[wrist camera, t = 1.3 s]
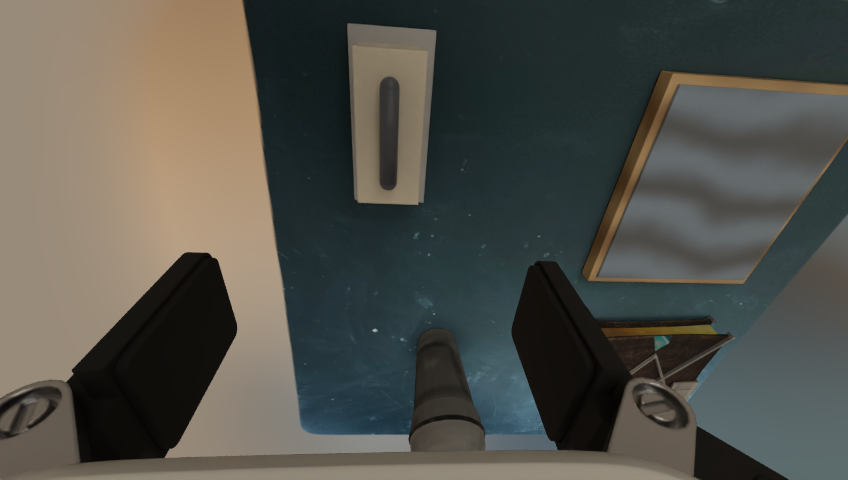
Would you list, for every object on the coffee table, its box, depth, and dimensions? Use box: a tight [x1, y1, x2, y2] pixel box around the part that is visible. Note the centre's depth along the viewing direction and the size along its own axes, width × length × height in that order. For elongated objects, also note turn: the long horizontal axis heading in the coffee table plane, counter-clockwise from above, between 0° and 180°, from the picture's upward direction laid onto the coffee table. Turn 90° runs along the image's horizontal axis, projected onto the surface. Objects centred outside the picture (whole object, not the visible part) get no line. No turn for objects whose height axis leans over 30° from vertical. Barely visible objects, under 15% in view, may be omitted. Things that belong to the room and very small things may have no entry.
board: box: [582, 71, 848, 284], centre depth 32 cm, size 20×18×2 cm
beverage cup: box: [409, 329, 485, 452], centre depth 34 cm, size 7×7×20 cm
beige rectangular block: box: [347, 23, 436, 205], centre depth 25 cm, size 13×6×7 cm, turn 176°
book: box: [554, 316, 735, 442], centre depth 46 cm, size 22×17×5 cm
